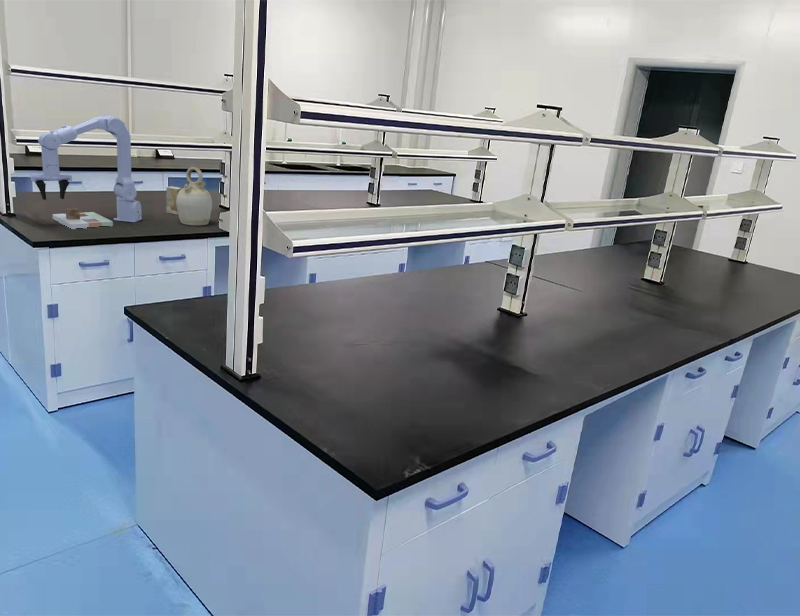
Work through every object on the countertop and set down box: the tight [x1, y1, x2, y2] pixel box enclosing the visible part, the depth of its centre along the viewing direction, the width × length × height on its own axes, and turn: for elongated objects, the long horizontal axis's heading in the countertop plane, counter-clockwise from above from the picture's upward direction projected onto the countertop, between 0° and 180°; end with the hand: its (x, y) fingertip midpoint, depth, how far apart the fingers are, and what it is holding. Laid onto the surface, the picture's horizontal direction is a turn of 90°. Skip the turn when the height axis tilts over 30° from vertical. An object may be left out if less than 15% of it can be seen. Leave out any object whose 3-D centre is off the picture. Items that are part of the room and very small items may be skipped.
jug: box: [176, 166, 213, 226], centre depth 280 cm, size 15×16×25 cm
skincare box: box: [165, 185, 184, 215], centre depth 297 cm, size 6×4×12 cm
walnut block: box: [64, 207, 81, 220], centre depth 259 cm, size 4×4×4 cm
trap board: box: [52, 211, 114, 230], centre depth 263 cm, size 16×20×2 cm
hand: (53, 199), depth 252 cm, fingers open, 6 cm apart
